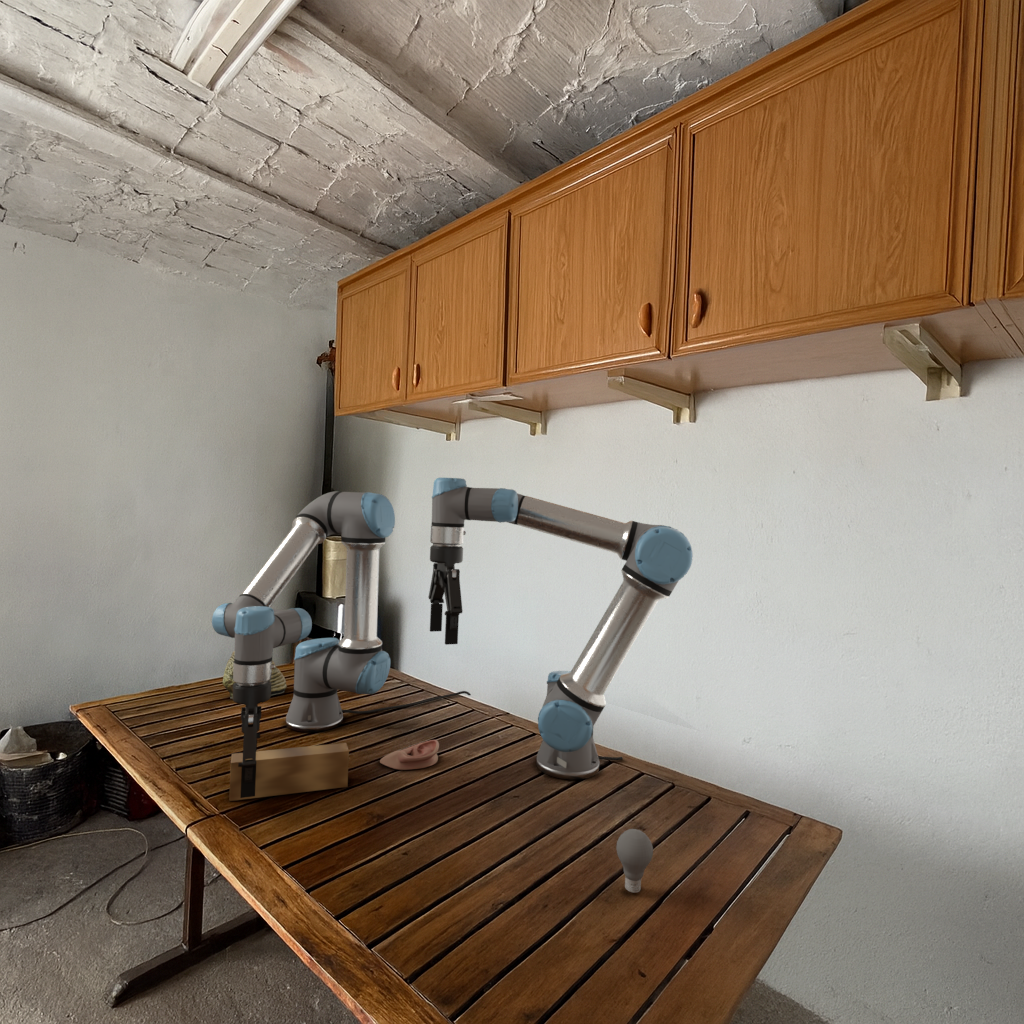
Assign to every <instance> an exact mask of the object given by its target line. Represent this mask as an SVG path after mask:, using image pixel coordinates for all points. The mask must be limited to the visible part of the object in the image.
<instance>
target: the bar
mask: <svg viewBox="0 0 1024 1024" xmlns="http://www.w3.org/2000/svg"><path fill="white" fill-rule="evenodd" d="M349 758H350V750H349V747H348V744H347V742H340V743H329V744H320V745H308V746H299V747H297V746H296V747H287V748H278V749H277V748H276V749H266V750H257V751H256V783H255V796H253V797H244V798H240V797H241V771H242V767H238V763H242V762H243V752H237V753H235V752H234V753H231V758H230V767H229V768H230V769H229V774H230V775H229V795H228V796H229V797H228V798H229V800H228V801H229V802H233V801H234V802H235V801H242V800H243V801H244V800H250V799H258V798H267V797H273V796H275V797H276V796H283V795H291V794H299V793H306V792H307V793H308V792H309V793H310V792H315V791H316V792H317V791H325V790H332V789H340V788H341V789H342V788H348V785H349V784H348V783H349V760H350V759H349ZM246 760H250V759H246Z"/></svg>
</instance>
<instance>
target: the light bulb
mask: <svg viewBox="0 0 1024 1024" xmlns="http://www.w3.org/2000/svg"><path fill="white" fill-rule="evenodd" d="M615 849H616V854H617V857H618V859H619V861H620V863H621V865H622V867H623V873H624V874H623V875H624V876H625V878H624V888H625V890H627V891H628V892H630V893H634V894H635V893H639V892H640V891H641V889H642V887H641V886H642V879H643V877H644V875H645V871H646V868H647V867H648V866H649V864H650V863H651V861H652V859H653V855H654V847H653V843H652V841H651V838H649V836H648V835H647V834H646V833H645V832H643V831H642V830H641V829H636V828H629V829H627V830H625V831H623V832H622V833H621V834H620V835H619V837H618V839H617V841H616V847H615Z"/></svg>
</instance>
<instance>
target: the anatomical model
mask: <svg viewBox="0 0 1024 1024" xmlns="http://www.w3.org/2000/svg"><path fill="white" fill-rule="evenodd" d="M439 748H440V743H439V741H438V740H437V739H431V740H430V739H429V740H426V741H423V742H419V743H416V744H414V745H412V746H409V747H406V748H403V749H400V750H399V749H398V750H395V751H392V752H390V753H388V754H386V755H384V756H383V757H382V758H380V760H379V763H380V764H382V765H384V766H385V767H388V768H390V769H394V770H399V771H400V770H401V771H403V770H404V771H405V770H419V769H424V768H428V767H431V766H433V765H435V764H437V763H438V760H439V756H438V754H437V753H438V752H439Z"/></svg>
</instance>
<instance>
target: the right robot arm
mask: <svg viewBox="0 0 1024 1024" xmlns="http://www.w3.org/2000/svg"><path fill="white" fill-rule="evenodd" d="M465 521H477V522H478V521H479V522H493V523H501V524H502V523H508V524H512V525H516V526H518V527H519V526H520V527H523V528H526V529H530V530H533V531H537V532H540V533H544V534H548V535H549V536H554V537H557V538H560V539H564V540H568V541H572V542H575V543H578V544H582V545H586V546H589V547H592V548H596V549H599V550H603V551H606V552H609V553H612V554H616V555H617V556H618V558H619V559H620V560H622V561H625V563H624V565H623V567H622V568H621V575H622V582H621V584H620V586H619V587H618V589H617V591H616V593H615V594H614V596H613V598H612V600H611V601H610V603H609V605H608V607H607V608H606V610H605V612H604V613H603V614H602V617H601V618H600V620H599V621H598V624H597V625H596V627H595V628H594V631H593V632H592V634H591V636H590V637H589V639H588V641H587V643H586V645H585V646H584V648H583V650H582V651H581V653H580V655H579V656H578V658H577V660H576V662H575V663H574V665H573V667H572V669H571V670H554V671H550V672H549V673H548V675H547V681H546V685H547V687H546V690H547V691H546V696H545V699H544V701H543V704H542V707H541V709H540V710H539V712H538V716H537V727H538V732H539V735H540V737H541V738H542V740H541V744H540V746H539V748H538V752H537V754H536V767H537V768H538V770H539V771H540V772H541V773H543V774H545V775H547V776H550V777H553V778H557V779H563V780H585V779H589V778H592V777H594V776H596V775H597V774H598V773H599V772H600V760H603V761H623V759H624V758H623V757H622V756H617V757H615V756H602V755H600V756H599V753H598V750H597V747H596V743H595V739H594V726H595V725H596V722H597V721H598V720H599V717H600V715H601V714H602V712H603V710H604V709H605V707H606V705H607V701H606V697H605V693H606V691H607V689H608V687H609V686H610V684H611V682H612V681H613V679H614V677H615V676H616V674H617V673H618V671H619V669H620V667H621V666H622V664H623V663H624V660H625V658H627V655H628V653H630V650H631V649H632V647H633V645H634V643H635V641H636V640H637V638H638V636H639V635H640V633H641V631H642V630H643V628H644V627H645V625H646V623H647V621H648V619H649V617H650V616H651V614H652V613H653V612H654V609H655V608H656V606H657V604H658V602H659V601H661V600H665V599H669V598H670V596H671V595H672V593H673V592H674V589H675V588H676V586H677V584H678V583H679V581H680V580H682V579H684V577H685V576H686V575H687V574H688V573H689V571H690V569H691V566H692V563H693V548H692V545H691V543H690V541H689V539H688V538H687V536H686V535H685V534H684V533H683V532H681V531H680V530H679V529H677V528H674V527H672V526H668V525H663V524H649V523H643V522H639V521H635V520H629V521H627V522H623V521H619V520H616V519H612V518H608V517H604V516H601V515H597V514H594V513H590V512H586V511H582V510H579V509H575V508H571V507H568V506H565V505H561V504H557V503H553V502H550V501H546V500H543V499H539V498H536V497H532V496H528V495H523V494H521V493H518V492H517V491H516V490H514V489H512V488H511V489H509V488H504V487H500V488H498V487H470V486H467V481H466V479H464V478H462V477H461V478H459V477H437V478H435V479H434V481H433V487H432V496H431V525H430V540H429V541H430V543H431V544H432V545H431V546H430V548H429V549H430V550H429V561H430V562H432V563H433V564H432V576H431V581H430V585H429V591H428V597H427V598H428V600H429V602H430V615H429V617H430V618H429V619H430V620H429V632H430V633H431V632H432V633H433V632H442V630H443V629H442V628H443V609H444V608H443V606H444V605H443V604H444V603H445V605H446V610H445V612H444V616H445V625H444V626H445V629H444V630H445V631H444V645H446V646H447V645H448V646H449V645H458V643H459V642H458V641H459V622H460V620H459V619H460V615H461V614H463V611H464V610H463V601H462V590H461V580H460V576H461V575H460V569H459V568H456V567H455V565H456V564H461V563H463V561H464V548H463V546H462V545H464V536H465V535H466V534H467V532H466V530H465ZM444 598H445V600H444Z"/></svg>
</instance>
